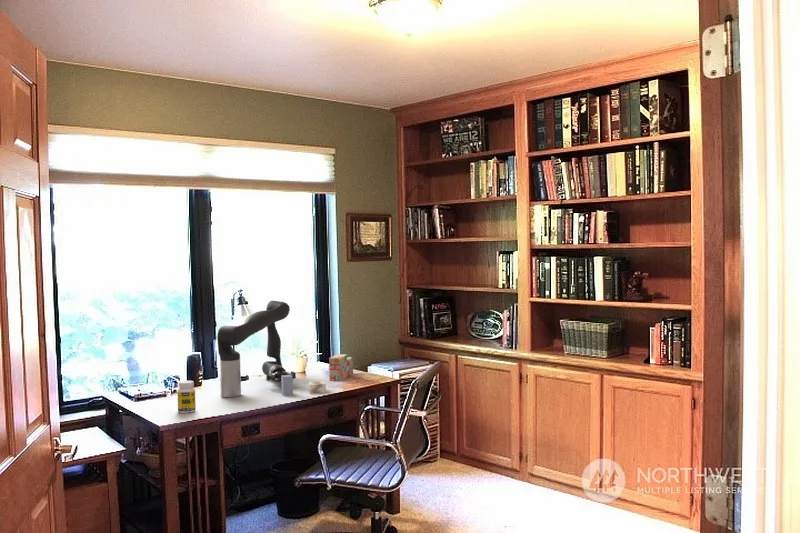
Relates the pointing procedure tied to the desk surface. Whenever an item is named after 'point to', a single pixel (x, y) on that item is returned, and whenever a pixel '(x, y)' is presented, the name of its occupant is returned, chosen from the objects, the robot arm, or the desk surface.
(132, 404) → the desk surface
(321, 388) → the cream base block
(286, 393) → the slate block
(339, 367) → the stack of blocks
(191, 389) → the supplement bottle
